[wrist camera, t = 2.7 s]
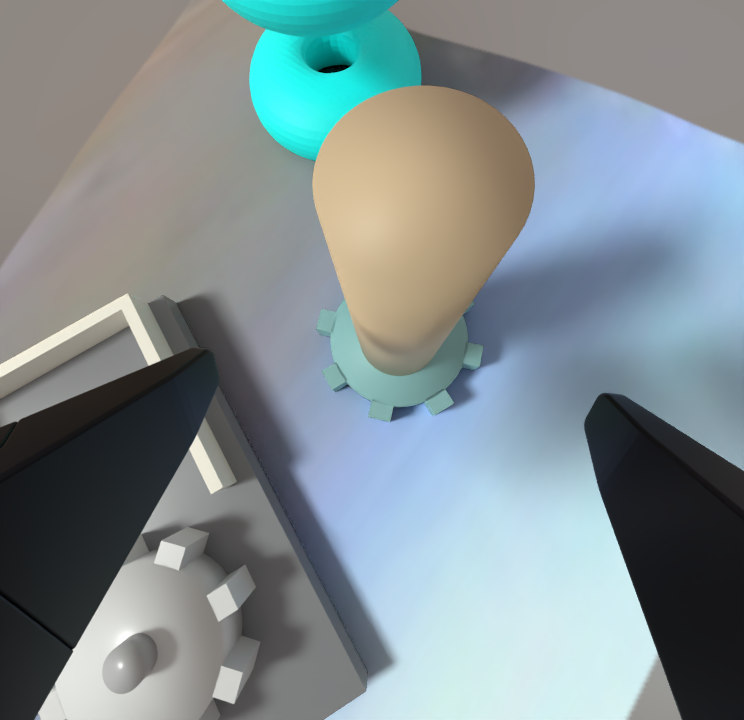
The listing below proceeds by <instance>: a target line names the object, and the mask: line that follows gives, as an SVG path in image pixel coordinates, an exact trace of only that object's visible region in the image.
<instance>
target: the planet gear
mask: <svg viewBox="0 0 744 720" xmlns="http://www.w3.org/2000/svg"><path fill="white" fill-rule="evenodd" d="M312 184H313V197H314V202H315V207H316V211H317V214H318V217H319V220H320V223H321V226H322V229H323V232H324V235H325V239H326V242H327V245H328V248H329V251H330V254H331V257H332V260H333V263H334V266H335V269H336V272H337V276H338V279H339V282H340V285H341V288H342V291H343V294H344V297H345V299H344V300H343V302H342V303H341V305H340V306H339V308H338V310H337V312H333V311H328V310H324V309H321V313H320V316H319V320H318V324H317V327H316V330H317V331H318V332H319V334H320V335H324V336H328V337H331V338H330V341H331V350H332V355H333V359H334V362H335V363H334V364H333V365H331V366H329V367H327V368H326V369H324V370H322V373H323V375H324V377H325V378H326V380H327V382H328V383H329V385H330V387H331V389H332V390H333V391H335V392H336V391H338V390H340V389H341V388H343V387H345V386H346V385H348V384H349V385H350V386H351V388H352V389H353V390H355V391H356V392H357V393H358V394H359V395H361V396H362V397H364V398H365V399H367V400H369V401H371V402H372V403H371V407H370V411H369V415H368V417H371V418H375V419H379V420H383V421H387V422H390V420H391V415H392V411H393V407H410V406H414V405H418V404H421V403H424V404H425V405H426V407H427V408H428V410H429V411H430V413H431V415H432V416H433V415H436V414H438V413H439V412H441V411H442V410H444V409H446V408H447V407H449V406H451V405H452V404H454V402H453V401H452V399H451V397H450V396H449V394H448V393H447V391H446V390H445V389H446V388H447V387H448V386H449V385H450V384H451V383H452V382H453V381H454V379H455V378H456V377H457V375H458V373H459V372H460V370H461V368H466V369H470V370H475V369H477V368H478V367H480V362H481V357H482V352H483V347H484V346H483V345H478V344H474V343H469V342H468V332H467V326H466V322H465V319H464V316H463V315H464V314H465V313H467V312H469V311H470V309H471V308H472V307H473V305H474V302H473V300H474V298H475V297H476V295H477V294H478V292H479V291H480V290H481V288H482V287H483V285H484V284H485V282H486V281H487V280H488V278H489V277H490V275H491V274H492V272H493V271H494V270H495V268H496V267H497V265H498V264H499V262H500V261H501V260H502V258H503V257H504V255H505V254H506V252H507V251H508V250H509V248H510V247H511V245H512V244H513V243H514V241H515V240H516V238H517V237H518V235H519V234H520V232H521V230H522V229H523V227H524V225H525V223H526V221H527V218H528V216H529V214H530V211H531V207H532V203H533V198H534V189H535V181H534V170H533V165H532V160H531V157H530V154H529V152H528V149H527V147H526V145H525V143H524V141H523V139H522V137H521V136H520V134H519V133H518V131H517V130H516V129H515V127H514V126H513V125H512V124H511V123H510V122H509V120H508V119H507V118H506V117H505V116H504V115H502V114H501V113H500V112H499V111H498V110H496V109H495V108H494V107H492V106H491V105H489V104H488V103H486V102H485V101H483V100H481V99H479V98H477V97H475V96H473V95H470V94H468V93H465V92H462V91H459V90H455V89H451V88H446V87H439V86H409V87H402V88H397V89H393V90H389V91H386V92H383V93H380V94H377V95H375V96H373V97H371V98H369V99H367V100H365V101H363V102H362V103H360V104H359V105H357V106H355V107H354V108H353V109H351V110H350V111H349V112H348V113H346V114H345V115H344V116H343V117H342V118H341V119H340V120H339V121H338V122H337V123H336V124H335V125H334V127H333V128H332V130H331V131H330V132H329V134H328V135H327V137H326V138H325V140H324V142H323V144H322V146H321V148H320V150H319V153H318V156H317V158H316V162H315V167H314V171H313V183H312Z"/></svg>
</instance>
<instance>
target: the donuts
mask: <svg viewBox="0 0 744 720" xmlns="http://www.w3.org/2000/svg"><path fill="white" fill-rule="evenodd" d="M222 1H223V2H224V3H225V4H226V5H227V6H229V7H230V8H231V9H232V10H234V11H235V12H236V13H238V14H239V15H240V16H242V17H243V18H245V19H246V20H248V21H250V22H252V23H254V24H256V25H258V26H260V27H263V28H265V29H266V30H265V31H264V33H263V34H262V36H261V38H260V40H259V41H258V44H257V46H256V49H255V51H254V54H253V57H252V61H251V67H250V91H251V96H252V101H253V105H254V108H255V110H256V112H257V115H258V117H259V119H260V121H261V122H262V124H263V126H264V127H265V128H266V130H267V131H268V132H269V133H270V135H271V136H272V137H273V138H274V139H275V140H276V141H277V142H278V143H280V144H281V145H282V146H283V147H285V148H286V149H288V150H290V151H291V152H293V153H295V154H297V155H299V156H301V157H304V158H307V159H310V160H313V161H316V158H317V156H318V153H319V150H320V148H321V146H322V144H323V142H324V140H325V138H326V137H327V135H328V134H329V132H330V131H331V130H332V128H333V127H334V125H335V124H336V123H337V122H338V121H339V120H340V119H341V118H342V117H343V116H344V115H345V114H346V113H348V112H349V111H350V110H351V109H353V108H354V107H355V106H357V105H359V104H360V103H362V102H363V101H365V100H367V99H369V98H371V97H373V96H375V95H377V94H380V93H383V92H386V91H389V90H393V89H397V88H402V87H409V86H421V79H422V75H421V64H420V59H419V55H418V51H417V49H416V46H415V43H414V41H413V39H412V37H411V35H410V34H409V32H408V31H407V29H406V28H405V27H404V25H403V24H402V23H401V22H400V21H399V19H398V18H397V17H396V16H395V15H393V14H392V13H391V12H390V11H388V9H389V8H390V7H391V6H393V5H394V4H395V3H396V2H397V1H398V0H222ZM333 65H348V66H350V67H349V68H347V69H345V70H343V71H340V72H335V73H321V72H317V71H318V70H320V69H322V68H325V67H328V66H333Z"/></svg>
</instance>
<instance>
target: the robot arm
mask: <svg viewBox="0 0 744 720" xmlns="http://www.w3.org/2000/svg"><path fill="white" fill-rule="evenodd" d="M218 384H219V374H218V370H217V366H216V362H215V358H214V354H213V352H212V351H211V350H210V349H206V348H197V347H193V348H190V349H188V350H185V351H183V352H180V353H178V354H176V355H173V356H171V357H168V358H166V359H163V360H161V361H159V362H156V363H154V364H151V365H149V366H147V367H144V368H142V369H139V370H137V371H135V372H132V373H130V374H127V375H125V376H123V377H120V378H118V379H115V380H113V381H111V382H108V383H106V384H103V385H101V386H99V387H96V388H94V389H91V390H89V391H87V392H84V393H82V394H79V395H77V396H75V397H72V398H70V399H67V400H65V401H63V402H60V403H58V404H55V405H53V406H51V407H48V408H46V409H43V410H41V411H39V412H36V413H34V414H31V415H29V416H27V417H24V418H22V419H20V420H19V421H18V422H16V421H15V422H12V423H9V424H7V425H5V426H2V427H0V720H34V719H35V718H36V716H37V714H38V712H39V711H40V709H41V707H42V705H43V704H44V702H45V700H46V698H47V697H48V695H49V693H50V691H51V690H52V688H53V686H54V685H55V683H56V681H57V679H58V678H59V676H60V674H61V672H62V671H63V669H64V667H65V665H66V664H67V662H68V660H69V658H70V657H71V655H72V653H73V650H72V649H74V648H75V647H76V646H77V644H78V642H79V640H80V639H81V637H82V635H83V633H84V632H85V630H86V628H87V626H88V625H89V623H90V621H91V619H92V618H93V616H94V614H95V612H96V611H97V609H98V607H99V605H100V604H101V602H102V600H103V598H104V597H105V595H106V593H107V592H108V590H109V588H110V586H111V585H112V583H113V581H114V579H115V578H116V576H117V574H118V572H119V571H120V569H121V567H122V565H123V564H124V562H125V560H126V558H127V557H128V555H129V553H130V551H131V550H132V548H133V546H134V544H135V543H136V541H137V539H138V537H139V536H140V534H141V532H142V531H143V529H144V527H145V525H146V524H147V522H148V520H149V518H150V517H151V515H152V513H153V511H154V510H155V508H156V506H157V504H158V503H159V501H160V499H161V497H162V496H163V494H164V492H165V490H166V489H167V487H168V485H169V483H170V482H171V480H172V478H173V476H174V475H175V473H176V471H177V469H178V468H179V466H180V464H181V463H182V461H183V459H184V457H185V456H186V454H187V452H188V450H189V449H190V447H191V445H192V443H193V441H194V439H195V437H196V435H197V433H198V431H199V429H200V427H201V424H202V422H203V420H204V417H205V415H206V413H207V410H208V408H209V406H210V403H211V401H212V399H213V396H214V394H215V392H216V390H217V387H218ZM584 429H585V433H586V438H587V442H588V446H589V450H590V454H591V459H592V463H593V467H594V471H595V476H596V480H597V483H598V487H599V491H600V494H601V497H602V500H603V503H604V505H605V508H606V511H607V514H608V516H609V519H610V522H611V525H612V527H613V530H614V533H615V536H616V539H617V541H618V544H619V547H620V550H621V552H622V555H623V558H624V561H625V564H626V566H627V569H628V572H629V575H630V577H631V580H632V583H633V586H634V589H635V591H636V594H637V597H638V600H639V602H640V605H641V608H642V611H643V614H644V616H645V619H646V622H647V625H648V627H649V630H650V633H651V636H652V638H653V641H654V644H655V647H656V650H657V652H658V655H659V658H660V661H661V663H662V666H663V669H664V672H665V675H666V677H667V680H668V683H669V686H670V688H671V691H672V694H673V697H674V700H675V702H676V705H677V708H678V711H679V713H680V716H681V719H682V720H744V471H743V470H741V469H739V468H738V467H736V466H735V465H733V464H732V463H730V462H728V461H727V460H725V459H724V458H722V457H720V456H719V455H717V454H716V453H714V452H713V451H711V450H709V449H708V448H706V447H705V446H703V445H701V444H700V443H698V442H697V441H695V440H694V439H692V438H690V437H689V436H687V435H686V434H684V433H683V432H681V431H679V430H678V429H676V428H675V427H673V426H671V425H670V424H668V423H667V422H665V421H664V420H662V419H660V418H659V417H657V416H656V415H654V414H652V413H651V412H649V411H648V410H646V409H645V408H643V407H641V406H640V405H638V404H637V403H635V402H634V401H632V400H630V399H629V398H627V397H626V396H624V395H621V394H613V393H602V394H600V395H599V396H598V397H597V399H596V401H595V403H594V404H593V406H592V408H591V410H590V411H589V413H588V415H587V417H586V419H585V423H584Z"/></svg>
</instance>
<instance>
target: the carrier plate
mask: <svg viewBox="0 0 744 720" xmlns="http://www.w3.org/2000/svg"><path fill="white" fill-rule="evenodd" d="M193 347H197V348H199V346H198V344H197V342H196V340H195V339H194V337H193V335H192V333H191V331H190V329H189V327H188V325H187V323H186V321H185V319H184V317H183V315H182V313H181V312H180V310H179V308H178V306H177V304H176V302H174V301H172V300H171V299H169V298H167V297H165V296H164V295H162V296H160V297H158V298H157V299H155V300H153V301H151V302H150V303H146V302H144V301H142V300H140V299H138V298H136V297H134V296H132V295H130V294H128V293H127V294H125V295H123V296H122V297H120V298H118V299H116V300H115V301H113V302H111V303H109V304H107V305H106V306H104V307H102V308H100V309H99V310H97V311H95V312H93V313H91V314H90V315H88V316H86V317H84V318H82V319H81V320H79V321H77V322H75V323H74V324H72V325H70V326H68V327H66V328H65V329H63V330H61V331H59V332H58V333H56V334H54V335H52V336H50V337H49V338H47V339H45V340H43V341H41V342H40V343H38V344H36V345H34V346H33V347H31V348H29V349H27V350H25V351H24V352H22V353H20V354H18V355H17V356H15V357H13V358H11V359H9V360H8V361H6V362H4V363H2V364H0V427H2V426H5V425H7V424H9V423H12V422H15V421H16V422H18V421H19V420H20V419H22V418H24V417H27V416H29V415H31V414H34V413H36V412H39V411H41V410H43V409H46V408H48V407H51V406H53V405H55V404H58V403H60V402H63V401H65V400H67V399H70V398H72V397H75V396H77V395H79V394H82V393H84V392H87V391H89V390H91V389H94V388H96V387H99V386H101V385H103V384H106V383H108V382H111V381H113V380H115V379H118V378H120V377H123V376H125V375H127V374H130V373H132V372H135V371H137V370H139V369H142V368H144V367H147V366H149V365H151V364H154V363H156V362H159V361H161V360H163V359H166V358H168V357H171V356H173V355H176V354H178V353H180V352H183V351H185V350H188V349H190V348H193ZM72 650H73V653H72V655H71V657H70V658H69V660H68V662H67V664H66V665H65V667H64V669H63V671H62V672H61V674H60V676H59V678H58V679H57V681H56V683H55V685H54V686H53V688H52V690H51V691H50V693H49V695H48V697H47V698H46V700H45V702H44V704H43V705H42V707H41V709H40V711H39V712H38V713H39V716H40V719H41V720H324V719H325V718H327V717H328V716H330V715H331V714H333V713H334V712H336V711H337V710H339V709H340V708H342V707H343V706H345V705H346V704H348V703H349V702H351V701H352V700H354V699H355V698H357V697H358V696H360V695H361V694H363V693H364V692H366V688H367V674H368V672H367V670H366V668H365V666H364V664H363V662H362V660H361V658H360V656H359V654H358V652H357V651H356V649H355V647H354V645H353V643H352V641H351V639H350V637H349V635H348V633H347V631H346V629H345V627H344V626H343V624H342V622H341V620H340V618H339V616H338V614H337V612H336V610H335V608H334V606H333V604H332V602H331V600H330V599H329V597H328V595H327V593H326V591H325V589H324V587H323V585H322V583H321V581H320V579H319V577H318V575H317V574H316V572H315V570H314V568H313V566H312V564H311V562H310V560H309V558H308V556H307V554H306V552H305V550H304V548H303V547H302V545H301V543H300V541H299V539H298V537H297V535H296V533H295V531H294V529H293V527H292V525H291V523H290V521H289V520H288V518H287V516H286V514H285V512H284V510H283V508H282V506H281V504H280V502H279V500H278V498H277V496H276V495H275V493H274V491H273V489H272V487H271V485H270V483H269V481H268V479H267V477H266V475H265V473H264V471H263V469H262V468H261V466H260V464H259V462H258V460H257V458H256V456H255V454H254V452H253V450H252V448H251V446H250V444H249V443H248V441H247V439H246V437H245V435H244V433H243V431H242V429H241V427H240V425H239V423H238V421H237V419H236V417H235V416H234V414H233V412H232V410H231V408H230V406H229V404H228V402H227V400H226V398H225V396H224V394H223V392H222V391H221V389H220V387H219V385H218V387H217V390H216V392H215V394H214V396H213V399H212V401H211V403H210V406H209V408H208V410H207V413H206V415H205V417H204V420H203V422H202V424H201V427H200V429H199V431H198V433H197V435H196V437H195V439H194V441H193V443H192V445H191V447H190V449H189V450H188V452H187V454H186V456H185V457H184V459H183V461H182V463H181V464H180V466H179V468H178V469H177V471H176V473H175V475H174V476H173V478H172V480H171V482H170V483H169V485H168V487H167V489H166V490H165V492H164V494H163V496H162V497H161V499H160V501H159V503H158V504H157V506H156V508H155V510H154V511H153V513H152V515H151V517H150V518H149V520H148V522H147V524H146V525H145V527H144V529H143V531H142V532H141V534H140V536H139V537H138V539H137V541H136V543H135V544H134V546H133V548H132V550H131V551H130V553H129V555H128V557H127V558H126V560H125V562H124V564H123V565H122V567H121V569H120V571H119V572H118V574H117V576H116V578H115V579H114V581H113V583H112V585H111V586H110V588H109V590H108V592H107V593H106V595H105V597H104V598H103V600H102V602H101V604H100V605H99V607H98V609H97V611H96V612H95V614H94V616H93V618H92V619H91V621H90V623H89V625H88V626H87V628H86V630H85V632H84V633H83V635H82V637H81V639H80V640H79V642H78V644H77V646H76V647H75V648H74V649H72Z"/></svg>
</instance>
